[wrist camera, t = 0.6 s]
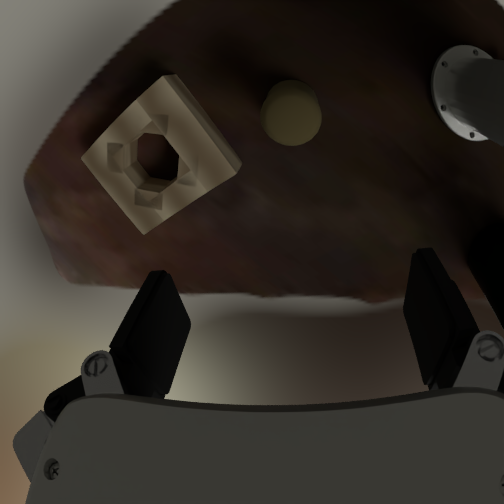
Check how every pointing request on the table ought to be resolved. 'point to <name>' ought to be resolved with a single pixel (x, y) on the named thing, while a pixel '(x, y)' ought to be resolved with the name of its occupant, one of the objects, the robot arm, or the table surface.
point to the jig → (182, 140)
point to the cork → (291, 113)
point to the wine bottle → (490, 266)
